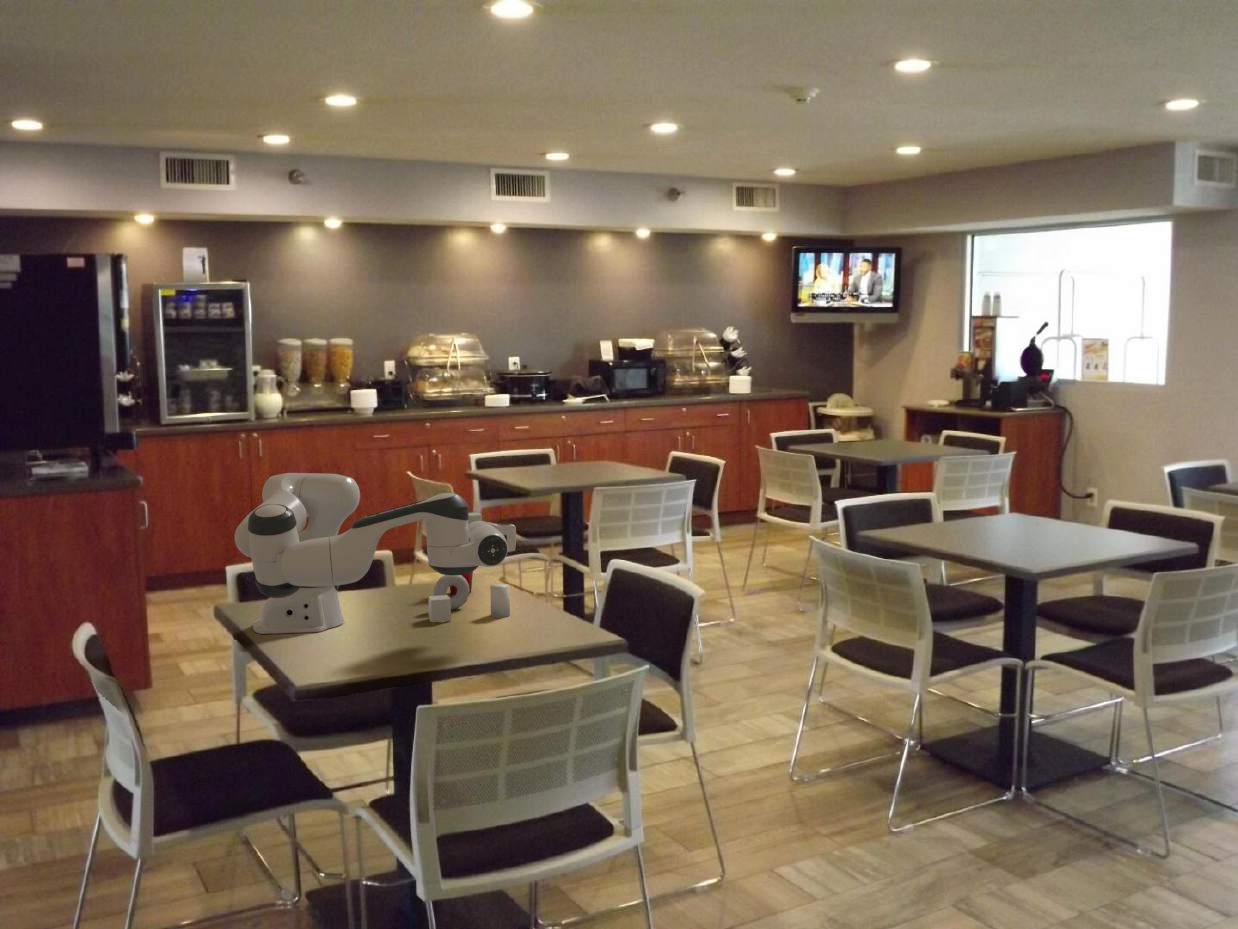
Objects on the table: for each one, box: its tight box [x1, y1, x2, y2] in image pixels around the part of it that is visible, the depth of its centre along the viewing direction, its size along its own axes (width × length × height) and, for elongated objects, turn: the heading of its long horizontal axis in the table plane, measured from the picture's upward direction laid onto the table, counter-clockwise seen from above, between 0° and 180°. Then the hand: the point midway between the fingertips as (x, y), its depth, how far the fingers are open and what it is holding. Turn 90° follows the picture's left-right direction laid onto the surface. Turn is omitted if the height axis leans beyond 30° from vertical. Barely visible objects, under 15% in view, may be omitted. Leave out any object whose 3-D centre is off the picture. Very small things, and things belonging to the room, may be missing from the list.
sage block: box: [468, 512, 483, 524], centre depth 290 cm, size 5×5×10 cm
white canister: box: [489, 583, 511, 618], centre depth 309 cm, size 5×5×8 cm
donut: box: [433, 575, 470, 611], centre depth 316 cm, size 10×4×10 cm, turn 119°
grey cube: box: [427, 594, 452, 623], centre depth 304 cm, size 5×5×6 cm
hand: (469, 531), depth 291 cm, fingers closed on sage block, 5 cm apart
